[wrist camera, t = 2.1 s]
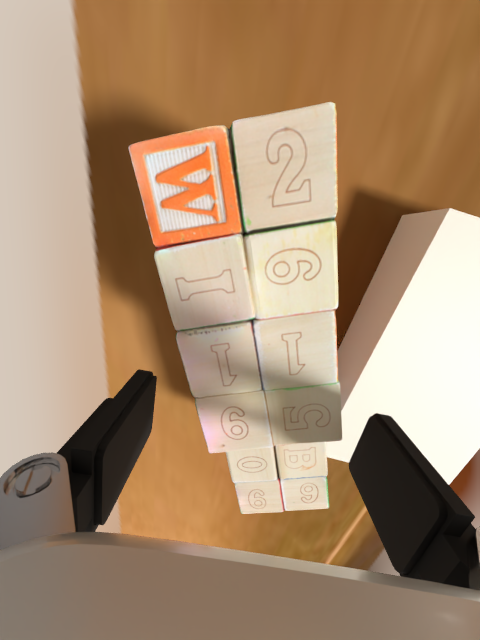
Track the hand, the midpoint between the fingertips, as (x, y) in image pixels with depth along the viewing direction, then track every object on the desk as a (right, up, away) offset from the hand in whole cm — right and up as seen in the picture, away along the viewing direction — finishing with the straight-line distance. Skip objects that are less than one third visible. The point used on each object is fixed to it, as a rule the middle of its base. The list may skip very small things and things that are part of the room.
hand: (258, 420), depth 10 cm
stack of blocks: (+1, +4, +12) cm, 12 cm away
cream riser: (+15, +2, +12) cm, 19 cm away
